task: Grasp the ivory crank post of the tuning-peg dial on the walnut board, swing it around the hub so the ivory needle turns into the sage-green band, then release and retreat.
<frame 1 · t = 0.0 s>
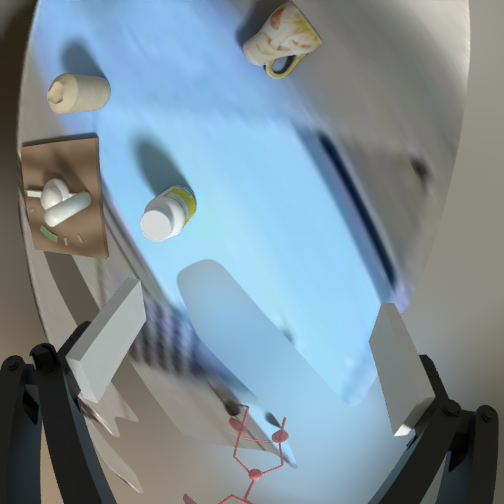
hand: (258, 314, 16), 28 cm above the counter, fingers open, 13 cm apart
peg: (41, 203, 39), point 6 cm above the counter, hinge at 0.0°
supplement bottle: (180, 202, 43), on the counter
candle: (97, 93, 37), on the counter
mug: (281, 45, 33), on the counter
board: (61, 198, 45), on the counter
figurine: (255, 424, 65), on the counter
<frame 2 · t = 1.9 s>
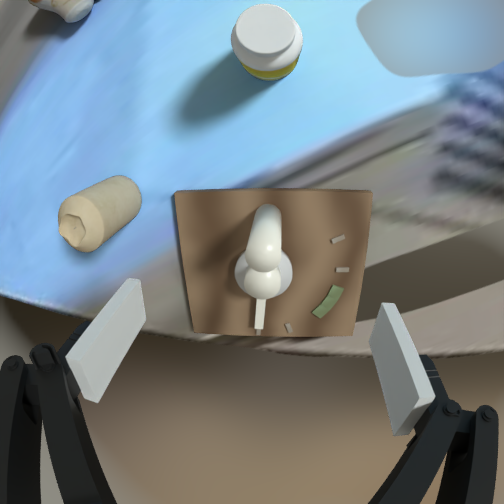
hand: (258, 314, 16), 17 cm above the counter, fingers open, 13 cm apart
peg: (261, 293, 29), point 6 cm above the counter, hinge at 0.0°
supplement bottle: (269, 56, 25), on the counter
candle: (121, 197, 32), on the counter
board: (273, 268, 34), on the counter
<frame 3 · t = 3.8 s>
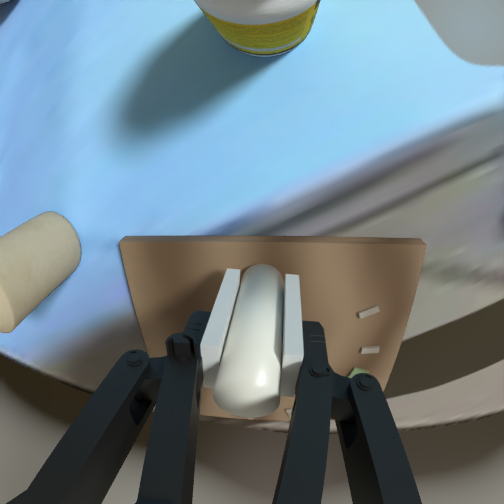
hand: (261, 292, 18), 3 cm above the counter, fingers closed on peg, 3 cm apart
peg: (250, 401, 17), point 6 cm above the counter, hinge at 0.0°, touching gripper
supplement bottle: (265, 18, 14), on the counter
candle: (58, 241, 21), on the counter
board: (271, 345, 23), on the counter
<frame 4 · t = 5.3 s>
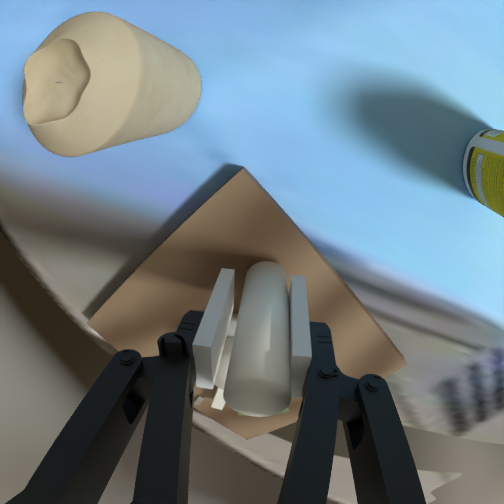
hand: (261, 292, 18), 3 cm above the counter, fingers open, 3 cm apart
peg: (232, 395, 17), point 6 cm above the counter, hinge at 36.1°, touching gripper
supplement bottle: (487, 165, 16), on the counter
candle: (159, 90, 16), on the counter
board: (246, 345, 23), on the counter
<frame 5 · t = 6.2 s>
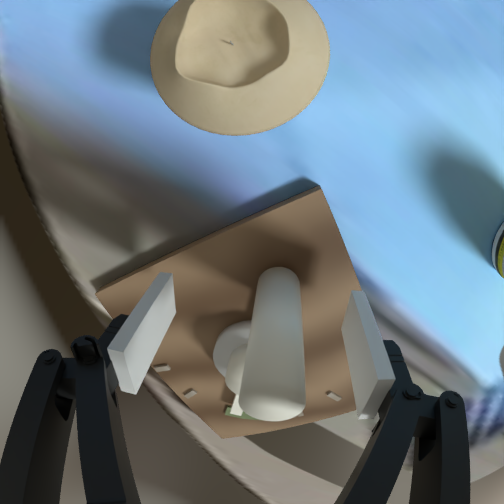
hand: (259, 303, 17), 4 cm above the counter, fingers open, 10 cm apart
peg: (249, 401, 17), point 6 cm above the counter, hinge at 55.2°
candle: (258, 81, 15), on the counter
board: (257, 351, 23), on the counter
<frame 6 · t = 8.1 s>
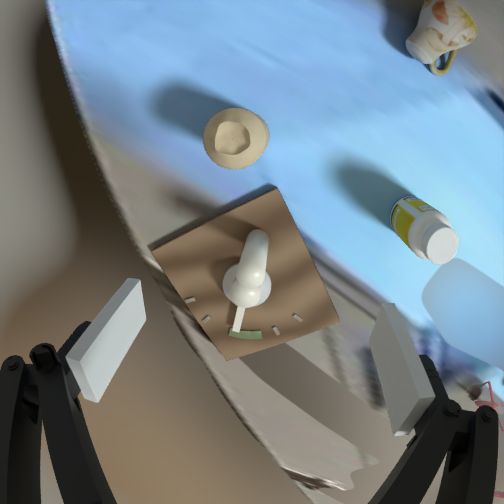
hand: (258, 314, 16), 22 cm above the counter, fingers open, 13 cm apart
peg: (243, 302, 35), point 6 cm above the counter, hinge at 55.3°
supplement bottle: (407, 215, 35), on the counter
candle: (245, 135, 33), on the counter
mug: (429, 39, 25), on the counter
board: (248, 285, 40), on the counter
figurine: (492, 395, 47), on the counter
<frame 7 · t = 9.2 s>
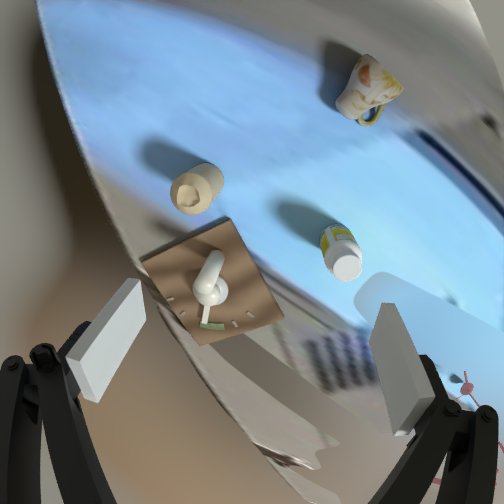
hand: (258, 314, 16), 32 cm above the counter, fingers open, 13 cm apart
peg: (205, 303, 48), point 6 cm above the counter, hinge at 55.3°
supplement bottle: (335, 239, 47), on the counter
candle: (206, 180, 46), on the counter
mug: (361, 93, 38), on the counter
board: (213, 289, 53), on the counter
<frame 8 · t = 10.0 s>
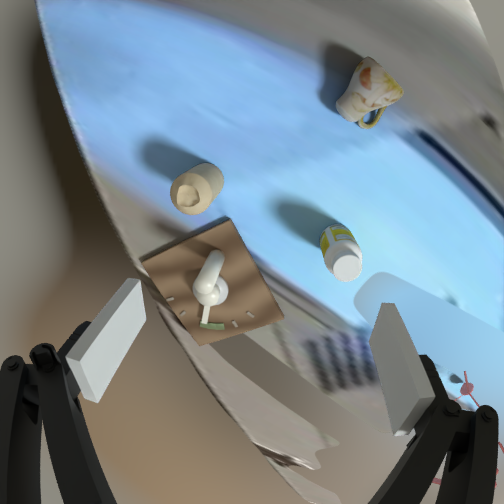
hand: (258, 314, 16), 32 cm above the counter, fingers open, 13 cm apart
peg: (205, 303, 48), point 6 cm above the counter, hinge at 55.3°
supplement bottle: (335, 239, 47), on the counter
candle: (206, 180, 46), on the counter
mug: (362, 96, 38), on the counter
board: (213, 289, 53), on the counter
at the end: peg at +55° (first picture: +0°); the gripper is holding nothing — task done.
